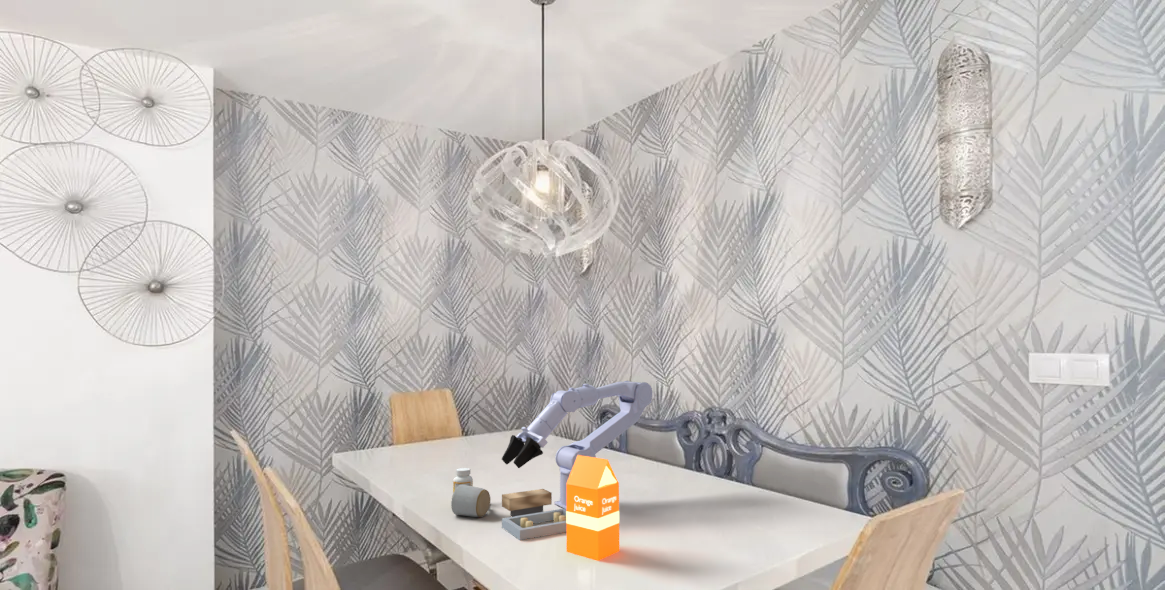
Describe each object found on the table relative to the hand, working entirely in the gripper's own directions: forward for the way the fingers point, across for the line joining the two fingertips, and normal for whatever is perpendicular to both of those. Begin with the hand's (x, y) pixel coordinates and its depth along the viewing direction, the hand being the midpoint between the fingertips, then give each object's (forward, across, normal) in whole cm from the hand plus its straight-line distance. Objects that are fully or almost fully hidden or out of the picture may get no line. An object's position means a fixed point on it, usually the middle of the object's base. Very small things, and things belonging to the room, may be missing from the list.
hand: (510, 463), depth 154 cm
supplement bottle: (+13, -19, +6) cm, 24 cm away
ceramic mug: (+14, -8, +5) cm, 17 cm away
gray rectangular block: (+6, 0, +13) cm, 14 cm away
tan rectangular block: (+4, 0, +11) cm, 12 cm away
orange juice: (+7, +32, +15) cm, 36 cm away
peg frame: (+7, +12, +13) cm, 19 cm away
